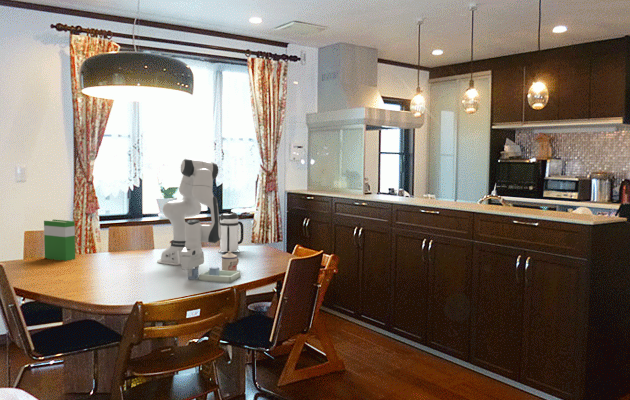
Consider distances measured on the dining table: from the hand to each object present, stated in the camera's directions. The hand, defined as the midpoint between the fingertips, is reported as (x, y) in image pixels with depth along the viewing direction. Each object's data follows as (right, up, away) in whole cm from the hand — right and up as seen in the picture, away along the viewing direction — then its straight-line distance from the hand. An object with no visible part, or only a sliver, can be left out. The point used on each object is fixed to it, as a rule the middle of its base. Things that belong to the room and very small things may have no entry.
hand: (193, 275), depth 298 cm
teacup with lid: (+18, -1, +20) cm, 27 cm away
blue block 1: (0, -2, 0) cm, 2 cm away
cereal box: (-94, +4, +47) cm, 105 cm away
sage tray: (+15, -2, +1) cm, 15 cm away
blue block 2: (+11, -1, +1) cm, 11 cm away
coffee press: (+8, +5, +79) cm, 80 cm away
